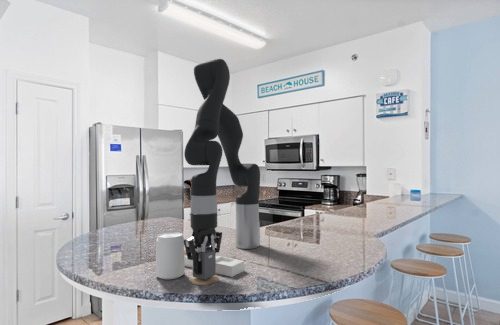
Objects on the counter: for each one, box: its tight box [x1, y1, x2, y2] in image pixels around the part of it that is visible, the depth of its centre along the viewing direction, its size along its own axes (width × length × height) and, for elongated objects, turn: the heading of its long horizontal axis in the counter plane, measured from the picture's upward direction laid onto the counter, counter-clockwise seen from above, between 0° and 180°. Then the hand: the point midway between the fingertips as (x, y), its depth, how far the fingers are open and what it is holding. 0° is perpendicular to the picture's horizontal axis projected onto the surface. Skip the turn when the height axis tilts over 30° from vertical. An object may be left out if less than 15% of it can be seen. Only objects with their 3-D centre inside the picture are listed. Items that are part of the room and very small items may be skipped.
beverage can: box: [155, 232, 185, 280], centre depth 93 cm, size 8×8×12 cm
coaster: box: [189, 274, 219, 286], centre depth 90 cm, size 8×8×1 cm
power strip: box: [184, 247, 245, 278], centre depth 102 cm, size 6×26×6 cm, turn 56°
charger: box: [192, 249, 217, 280], centre depth 90 cm, size 4×5×7 cm
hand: (204, 271), depth 90 cm, fingers closed on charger, 4 cm apart
